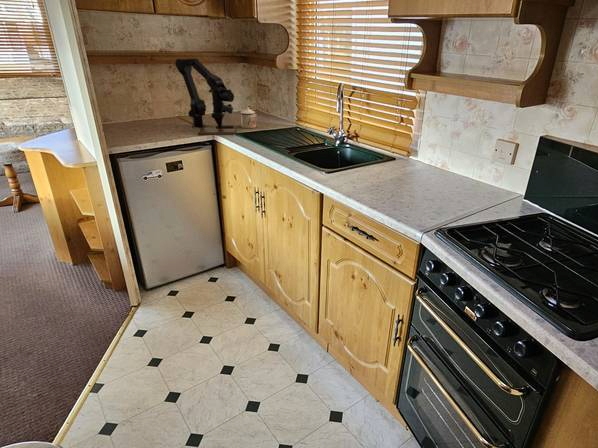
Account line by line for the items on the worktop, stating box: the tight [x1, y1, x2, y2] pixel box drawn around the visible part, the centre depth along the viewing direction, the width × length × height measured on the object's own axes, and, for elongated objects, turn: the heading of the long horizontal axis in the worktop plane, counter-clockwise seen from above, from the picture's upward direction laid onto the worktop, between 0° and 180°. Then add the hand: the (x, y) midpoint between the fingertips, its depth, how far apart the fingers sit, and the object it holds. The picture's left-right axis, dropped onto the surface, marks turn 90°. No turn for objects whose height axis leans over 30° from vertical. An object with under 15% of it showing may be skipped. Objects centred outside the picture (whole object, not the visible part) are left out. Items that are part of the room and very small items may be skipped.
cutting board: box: [197, 128, 237, 136], centre depth 233 cm, size 9×20×2 cm, turn 98°
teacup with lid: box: [240, 107, 258, 129], centre depth 248 cm, size 12×9×12 cm
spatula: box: [203, 124, 234, 129], centre depth 243 cm, size 17×6×2 cm, turn 98°
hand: (220, 127), depth 243 cm, fingers closed on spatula, 2 cm apart
